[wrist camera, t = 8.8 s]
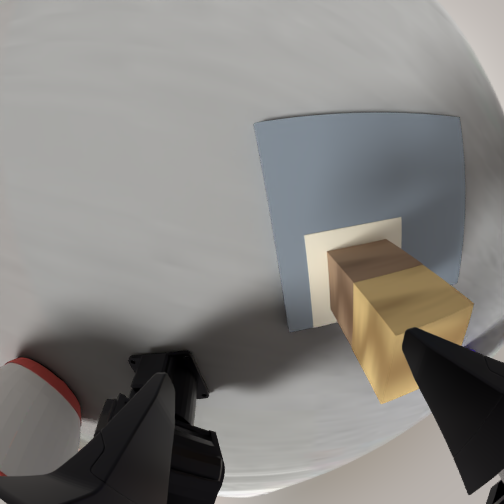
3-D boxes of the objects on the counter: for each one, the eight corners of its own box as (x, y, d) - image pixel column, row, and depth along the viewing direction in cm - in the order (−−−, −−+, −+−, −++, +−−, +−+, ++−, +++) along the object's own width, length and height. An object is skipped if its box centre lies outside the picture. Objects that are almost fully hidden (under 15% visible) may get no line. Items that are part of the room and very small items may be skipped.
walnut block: (384, 294, 21) (414, 327, 16) (330, 309, 21) (352, 348, 16) (386, 239, 19) (423, 264, 14) (326, 251, 19) (353, 282, 14)
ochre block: (414, 328, 16) (451, 372, 11) (351, 348, 16) (381, 404, 11) (422, 264, 14) (473, 303, 10) (353, 282, 14) (396, 336, 10)
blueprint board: (451, 278, 22) (458, 283, 21) (287, 325, 22) (289, 333, 21) (452, 117, 17) (460, 117, 16) (253, 124, 17) (254, 122, 16)
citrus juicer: (109, 438, 29) (83, 543, 10) (18, 393, 26) (-25, 478, 7) (104, 381, 24) (52, 534, 5) (-4, 324, 21) (-81, 423, 2)
